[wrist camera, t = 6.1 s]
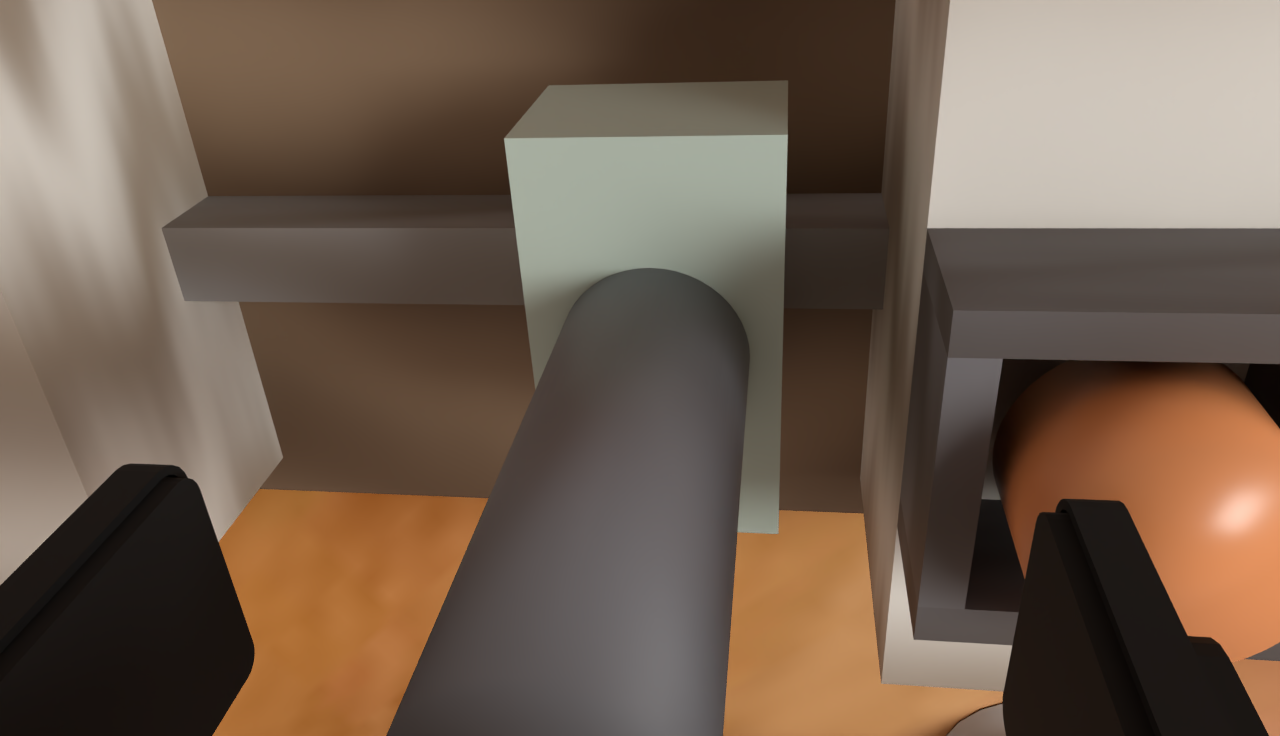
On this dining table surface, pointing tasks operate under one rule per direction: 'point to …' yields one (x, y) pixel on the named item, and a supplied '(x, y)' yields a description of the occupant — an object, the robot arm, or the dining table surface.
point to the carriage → (625, 419)
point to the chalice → (982, 723)
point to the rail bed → (456, 137)
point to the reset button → (1160, 481)
